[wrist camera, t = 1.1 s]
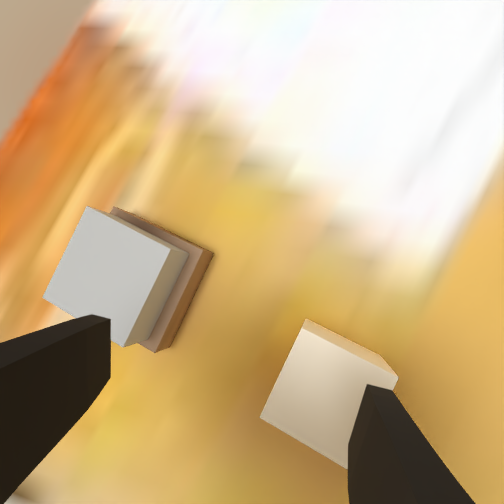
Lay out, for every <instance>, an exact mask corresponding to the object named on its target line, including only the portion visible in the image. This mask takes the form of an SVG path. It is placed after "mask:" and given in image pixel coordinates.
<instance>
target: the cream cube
mask: <svg viewBox="0 0 504 504" xmlns="http://www.w3.org/2000/svg"><path fill="white" fill-rule="evenodd" d="M398 378H399V377H398V376H397V374H396V373H395V372H394V371H393V370H392V369H391V367H390V366H389V365H388V364H387V363H386V361H385V360H384V359H383V358H382V357H381V355H379V354H377V353H375V352H373V351H371V350H369V349H367V348H365V347H363V346H361V345H359V344H357V343H355V342H353V341H351V340H349V339H347V338H345V337H343V336H341V335H339V334H337V333H335V332H333V331H331V330H329V329H327V328H325V327H323V326H321V325H319V324H317V323H315V322H313V321H311V320H309V319H307V318H306V319H305V321H304V323H303V325H302V327H301V329H300V332H299V334H298V336H297V338H296V340H295V342H294V344H293V346H292V348H291V351H290V353H289V355H288V357H287V359H286V361H285V363H284V365H283V368H282V370H281V372H280V374H279V376H278V378H277V380H276V382H275V384H274V387H273V389H272V391H271V393H270V395H269V398H268V400H267V402H266V404H265V406H264V409H263V411H262V413H261V415H260V417H259V418H261V419H263V420H265V421H266V422H268V423H270V424H271V425H273V426H275V427H276V428H278V429H280V430H281V431H283V432H285V433H286V434H288V435H290V436H292V437H293V438H295V439H297V440H298V441H300V442H302V443H303V444H305V445H307V446H308V447H310V448H312V449H313V450H315V451H317V452H318V453H320V454H322V455H324V456H325V457H327V458H329V459H330V460H332V461H334V462H335V463H337V464H339V465H340V466H342V467H344V468H345V469H347V470H348V443H349V440H350V437H351V433H352V430H353V427H354V424H355V420H356V417H357V414H358V411H359V407H360V404H361V401H362V398H363V394H364V391H365V388H366V385H367V384H370V385H374V386H378V387H381V388H385V389H389V390H392V391H393V389H394V387H395V385H396V382H397V380H398Z"/></svg>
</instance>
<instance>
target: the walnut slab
mask: <svg viewBox="0 0 504 504" xmlns="http://www.w3.org/2000/svg"><path fill="white" fill-rule="evenodd" d="M110 214H112V215H115V216H117V217H119V218H121V219H123V220H125V221H127V222H129V223H131V224H133V225H135V226H137V227H139V228H140V229H142V230H144V231H146V232H148V233H150V234H152V235H154V236H156V237H158V238H160V239H162V240H164V241H166V242H168V243H170V244H172V245H174V246H176V247H177V248H179V249H181V250H183V251H185V252H187V253H189V256H188V258H187V260H186V262H185V264H184V266H183V268H182V270H181V272H180V275H179V277H178V279H177V281H176V283H175V285H174V287H173V289H172V291H171V293H170V295H169V297H168V299H167V301H166V303H165V305H164V307H163V310H162V312H161V314H160V316H159V318H158V320H157V322H156V324H155V326H154V328H153V330H152V332H151V334H150V336H149V338H148V340H145V341H142V342H138V343H139V344H140V345H142V346H144V347H145V348H147V349H149V350H150V351H152V352H154V353H156V352H158V351H161V350H163V349H166V348H168V347H170V345H171V343H172V341H173V339H174V337H175V335H176V333H177V330H178V328H179V326H180V324H181V322H182V320H183V318H184V316H185V314H186V311H187V309H188V307H189V305H190V303H191V301H192V299H193V297H194V295H195V292H196V290H197V288H198V286H199V284H200V282H201V280H202V278H203V275H204V273H205V271H206V269H207V267H208V265H209V263H210V261H211V259H212V256H213V254H214V253H212V252H210V251H208V250H206V249H204V248H202V247H200V246H198V245H196V244H194V243H192V242H190V241H188V240H185V239H183V238H181V237H179V236H177V235H175V234H173V233H171V232H169V231H167V230H165V229H163V228H161V227H159V226H157V225H155V224H153V223H151V222H149V221H146V220H144V219H142V218H140V217H138V216H136V215H134V214H132V213H130V212H127V211H124V210H122V209H119V208H116V207H113V209H112V211H111V213H110Z"/></svg>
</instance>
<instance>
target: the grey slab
mask: <svg viewBox="0 0 504 504" xmlns="http://www.w3.org/2000/svg"><path fill="white" fill-rule="evenodd" d="M188 256H189V253H187V252H185V251H183V250H181V249H179V248H177V247H176V246H174V245H172V244H170V243H168V242H166V241H164V240H162V239H160V238H158V237H156V236H154V235H152V234H150V233H148V232H146V231H144V230H142V229H140V228H139V227H137V226H135V225H133V224H131V223H129V222H127V221H125V220H123V219H121V218H119V217H117V216H115V215H112V214H109V213H107V212H104V211H101V210H98V209H95V208H92V207H89V206H87V207H86V209H85V211H84V213H83V215H82V217H81V219H80V221H79V223H78V225H77V227H76V230H75V232H74V234H73V236H72V238H71V240H70V242H69V244H68V246H67V248H66V250H65V252H64V254H63V256H62V258H61V260H60V262H59V264H58V267H57V269H56V271H55V273H54V275H53V277H52V279H51V281H50V283H49V285H48V287H47V289H46V291H45V293H44V295H43V298H44V299H46V300H47V301H49V302H51V303H52V304H54V305H55V306H57V307H59V308H60V309H62V310H63V311H65V312H67V313H68V314H70V315H72V316H73V317H75V318H79V317H82V316H86V315H91V314H93V315H97V316H101V317H105V318H109V319H111V340H112V341H113V342H115V343H117V344H118V345H120V346H121V347H126V346H129V345H132V344H135V343H138V342H142V341H145V340H148V338H149V336H150V334H151V332H152V330H153V328H154V326H155V324H156V322H157V320H158V318H159V316H160V314H161V312H162V310H163V307H164V305H165V303H166V301H167V299H168V297H169V295H170V293H171V291H172V289H173V287H174V285H175V283H176V281H177V279H178V277H179V275H180V272H181V270H182V268H183V266H184V264H185V262H186V260H187V258H188Z"/></svg>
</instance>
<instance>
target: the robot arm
mask: <svg viewBox="0 0 504 504" xmlns="http://www.w3.org/2000/svg"><path fill="white" fill-rule="evenodd" d="M110 377H111V319H109V318H105V317H101V316H97V315H93V314H91V315H86V316H82V317H79V318H76V319H72V320H69V321H66V322H63V323H60V324H57V325H53V326H50V327H47V328H44V329H41V330H38V331H35V332H32V333H29V334H26V335H23V336H20V337H17V338H14V339H11V340H8V341H5V342H2V343H0V504H4V503H5V502H6V500H7V499H8V498H9V497H10V496H11V495H12V493H13V492H14V491H15V490H16V489H17V488H18V486H19V485H20V484H21V483H22V482H23V481H24V480H25V479H26V477H27V476H28V475H29V474H30V473H31V472H32V471H33V470H34V469H35V468H36V466H37V465H38V464H39V463H40V462H41V461H42V460H43V459H44V458H45V457H46V455H47V454H48V453H49V452H50V451H51V450H52V449H53V448H54V447H55V446H56V445H57V443H58V442H59V441H60V440H61V439H62V438H63V437H64V436H65V435H66V434H67V432H68V431H69V430H70V429H71V428H72V427H73V426H74V425H75V423H76V422H77V421H78V420H79V419H80V418H81V417H82V416H83V414H84V413H85V412H86V411H87V410H88V409H89V407H90V406H91V405H92V403H93V402H94V400H95V399H96V398H97V396H98V395H99V394H100V392H101V391H102V389H103V388H104V386H105V385H106V383H107V382H108V380H109V379H110ZM348 494H349V504H475V503H474V501H473V500H472V499H471V498H470V496H469V495H468V494H467V493H466V491H465V490H464V489H463V488H462V486H461V485H460V484H459V482H458V481H457V480H456V479H455V477H454V476H453V475H452V473H451V472H450V471H449V469H448V468H447V467H446V465H445V464H444V463H443V461H442V460H441V459H440V457H439V456H438V455H437V453H436V452H435V451H434V449H433V448H432V446H431V445H430V444H429V442H428V441H427V439H426V438H425V437H424V435H423V434H422V432H421V431H420V430H419V428H418V427H417V425H416V424H415V423H414V421H413V420H412V418H411V417H410V415H409V414H408V412H407V411H406V410H405V408H404V407H403V405H402V404H401V402H400V401H399V400H398V398H397V397H396V395H395V394H394V393H393V391H392V390H389V389H385V388H381V387H378V386H374V385H370V384H367V385H366V388H365V391H364V394H363V398H362V401H361V404H360V407H359V411H358V414H357V417H356V420H355V424H354V427H353V430H352V433H351V437H350V440H349V443H348Z"/></svg>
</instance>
